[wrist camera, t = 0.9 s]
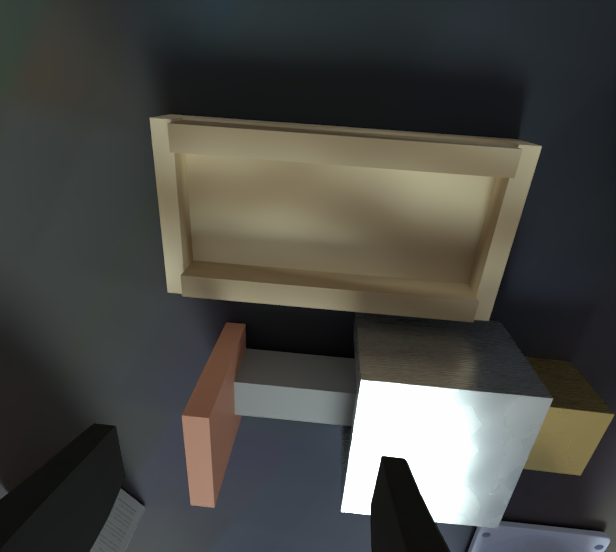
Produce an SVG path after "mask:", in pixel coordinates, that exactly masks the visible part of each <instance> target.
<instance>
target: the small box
mask: <svg viewBox="0 0 616 552" xmlns="http://www.w3.org/2000/svg"><path fill="white" fill-rule="evenodd" d="M144 510H145V507H144V506H143V505H141V504H140V503H139V502H138V501H137V500H135V499H134V498H133V497H131V496H130V495H129V494H128V493H126V492H125V491H124V490H123V489H120V491H119V494H118V496H117V499H116V501H115V503H114V506H113V508H112V510H111V513H110V515H109V517H108V519H107V521H106V523H105V525H104V527H103V529H102V530H101V532H100V534H99V536H98V538H97V540H96V541H95V543H94V545H93V547H92V549H91V550H90V552H125V550H126V548H127V546H128V544H129V542H130V539H131V537H132V535H133V533H134V531H135V529H136V527H137V524H138V522H139V520H140V518H141V516H142V514H143V512H144Z"/></svg>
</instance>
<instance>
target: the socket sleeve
mask: <svg viewBox="0 0 616 552" xmlns="http://www.w3.org/2000/svg"><path fill="white" fill-rule="evenodd" d="M353 336H354V353H355V371H356V388H357V394H356V400H355V407H354V414H353V421H352V426H345V425H341V512H349V513H359V514H368V515H370V504H371V500H372V495H373V491H374V486H375V482H376V477H377V473H378V468H379V464H380V459H381V455H382V456H391V457H400V458H405V459H406V460H407V461H408V464H409V466H410V469H411V471H412V474H413V476H414V478H415V481H416V483H417V485H418V487H419V490H420V492H421V494H422V496H423V498H424V500H425V503H426V505H427V507H428V509H429V511H430V513H431V515H432V517H433V519H434V521H435V522H442V523H451V524H461V525H470V526H479V527H489V528H498V526H499V524H500V521H501V519H502V517H503V514H504V512H505V510H506V507H507V505H508V503H509V500H510V498H511V496H512V493H513V491H514V489H515V486H516V484H517V482H518V479H519V477H520V475H521V472H522V470H523V468H524V465H525V463H526V461H527V459H528V456H529V454H530V452H531V449H532V447H533V445H534V442H535V440H536V438H537V435H538V433H539V431H540V428H541V426H542V424H543V421H544V419H545V417H546V414H547V412H548V410H549V407H550V405H551V403H552V400H553V397H552V396H551V394H550V393H549V392H548V390H547V389H546V387H545V386H544V384H543V383H542V381H541V380H540V378H539V377H538V375H537V374H536V373H535V371H534V370H533V368H532V367H531V365H530V364H529V362H528V361H527V359H526V358H525V356H524V355H523V354H522V352H521V351H520V349H519V348H518V346H517V345H516V343H515V342H514V340H513V339H512V338H511V336H510V335H509V333H508V332H507V330H506V329H505V327H504V326H503V324H502V323H501V321H493V320H489V321H483V320H474V322H464V321H452V320H441V319H430V318H419V317H407V316H396V315H385V314H374V313H363V312H355V318H354V326H353Z"/></svg>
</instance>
